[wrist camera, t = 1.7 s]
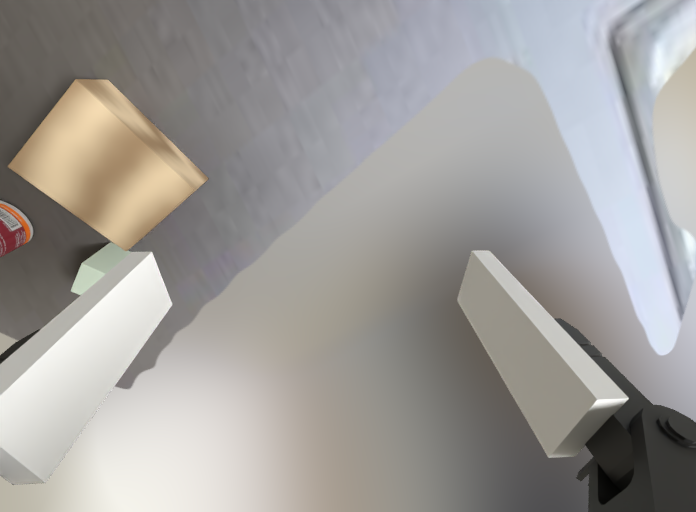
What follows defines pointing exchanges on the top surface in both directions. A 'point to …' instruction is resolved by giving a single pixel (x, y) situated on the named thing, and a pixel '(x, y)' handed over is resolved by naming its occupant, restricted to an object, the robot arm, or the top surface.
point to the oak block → (107, 163)
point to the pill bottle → (13, 228)
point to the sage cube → (98, 267)
